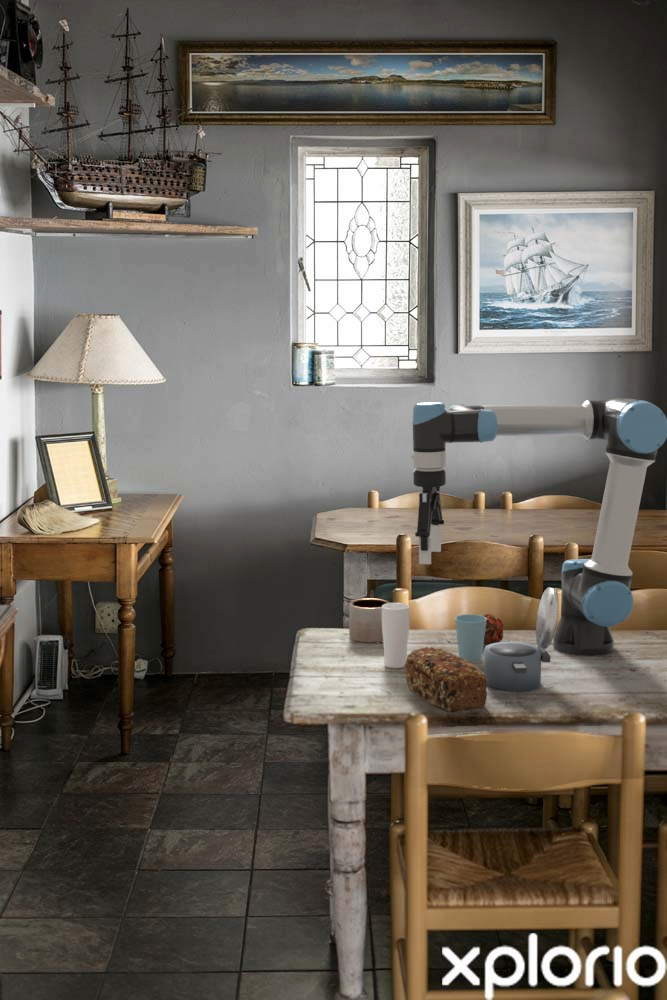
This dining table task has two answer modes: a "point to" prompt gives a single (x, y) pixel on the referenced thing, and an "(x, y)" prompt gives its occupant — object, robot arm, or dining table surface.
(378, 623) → the planter
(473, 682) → the bread
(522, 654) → the pot
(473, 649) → the cup
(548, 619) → the lid
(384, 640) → the drinking glass
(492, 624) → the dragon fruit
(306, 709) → the dining table surface
